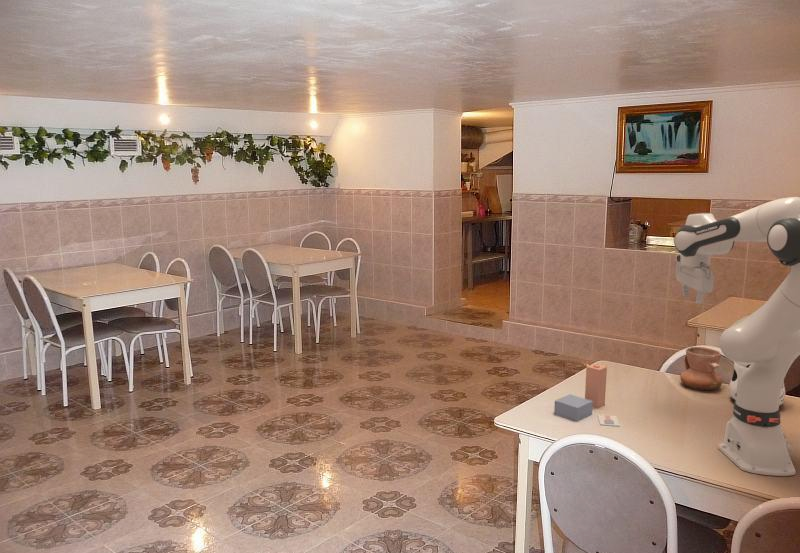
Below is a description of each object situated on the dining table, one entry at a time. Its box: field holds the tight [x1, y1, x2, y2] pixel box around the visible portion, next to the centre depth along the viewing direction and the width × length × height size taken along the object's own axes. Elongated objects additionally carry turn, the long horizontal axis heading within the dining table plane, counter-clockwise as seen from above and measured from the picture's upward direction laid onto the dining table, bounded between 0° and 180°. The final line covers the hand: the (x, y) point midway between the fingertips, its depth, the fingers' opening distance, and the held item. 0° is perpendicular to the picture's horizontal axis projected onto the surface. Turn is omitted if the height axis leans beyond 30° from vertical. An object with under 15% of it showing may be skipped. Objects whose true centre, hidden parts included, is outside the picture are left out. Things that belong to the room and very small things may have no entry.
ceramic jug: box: [680, 346, 723, 391], centre depth 247 cm, size 18×14×14 cm
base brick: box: [553, 393, 593, 422], centre depth 221 cm, size 9×9×5 cm
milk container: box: [728, 361, 786, 407], centre depth 230 cm, size 17×17×18 cm
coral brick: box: [584, 363, 608, 409], centre depth 229 cm, size 5×5×14 cm
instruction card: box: [597, 414, 621, 427], centre depth 216 cm, size 8×6×1 cm
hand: (692, 299), depth 223 cm, fingers open, 8 cm apart
